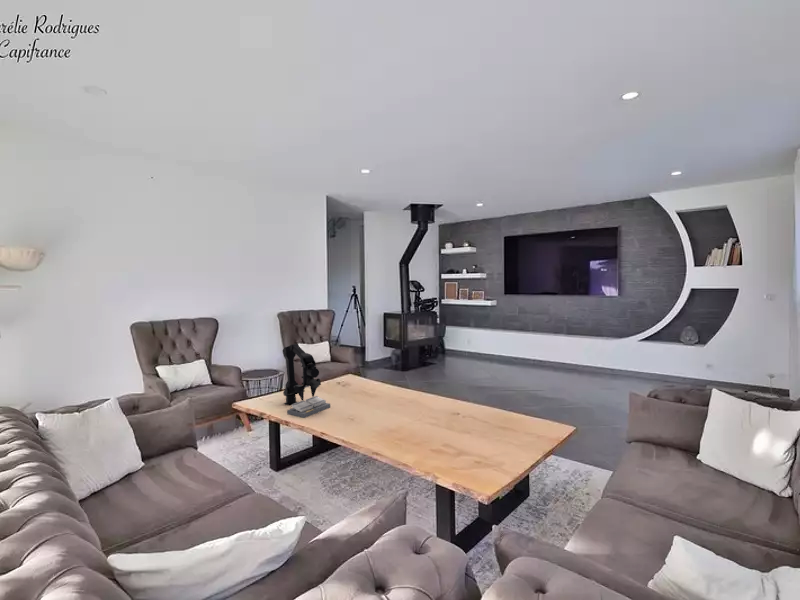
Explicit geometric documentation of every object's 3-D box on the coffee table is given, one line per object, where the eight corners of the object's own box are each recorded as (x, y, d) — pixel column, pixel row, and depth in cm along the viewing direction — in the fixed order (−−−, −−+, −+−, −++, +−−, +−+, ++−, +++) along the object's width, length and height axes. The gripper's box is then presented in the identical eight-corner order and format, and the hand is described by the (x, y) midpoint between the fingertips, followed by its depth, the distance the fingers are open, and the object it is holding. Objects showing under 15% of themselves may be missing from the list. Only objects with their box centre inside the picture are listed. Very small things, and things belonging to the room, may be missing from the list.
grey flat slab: (291, 406, 257) (291, 404, 257) (302, 402, 265) (303, 400, 265) (301, 412, 252) (301, 409, 252) (312, 407, 261) (313, 405, 260)
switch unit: (287, 414, 258) (286, 408, 258) (314, 404, 278) (313, 399, 278) (304, 418, 250) (303, 412, 250) (330, 407, 270) (330, 402, 270)
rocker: (305, 401, 267) (305, 399, 267) (315, 398, 275) (316, 395, 275) (314, 406, 262) (315, 404, 262) (325, 402, 271) (325, 400, 271)
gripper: (305, 379, 249) (305, 404, 250) (326, 373, 264) (327, 396, 265) (292, 377, 255) (293, 401, 256) (314, 371, 271) (314, 394, 272)
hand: (307, 398), depth 262 cm, fingers open, 9 cm apart
